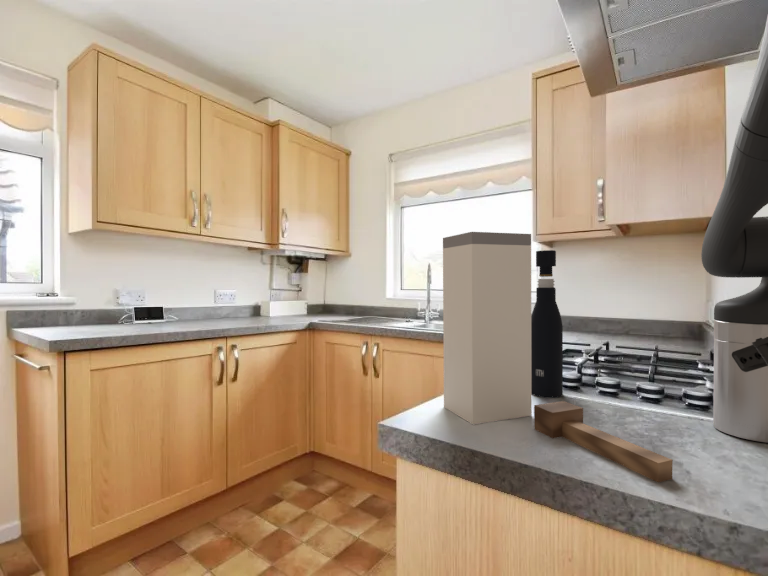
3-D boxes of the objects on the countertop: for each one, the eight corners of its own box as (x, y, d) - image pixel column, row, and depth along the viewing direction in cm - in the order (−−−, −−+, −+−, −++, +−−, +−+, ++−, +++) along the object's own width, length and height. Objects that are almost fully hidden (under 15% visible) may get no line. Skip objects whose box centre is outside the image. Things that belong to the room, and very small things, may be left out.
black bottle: (558, 389, 88) (558, 251, 87) (566, 398, 81) (566, 249, 81) (527, 388, 89) (527, 252, 88) (532, 397, 83) (532, 250, 82)
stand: (531, 415, 71) (531, 234, 71) (472, 424, 67) (471, 231, 67) (497, 400, 81) (496, 239, 80) (443, 406, 77) (442, 237, 76)
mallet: (682, 476, 49) (682, 444, 49) (647, 486, 47) (647, 452, 47) (563, 425, 67) (563, 401, 67) (534, 429, 65) (534, 405, 65)
